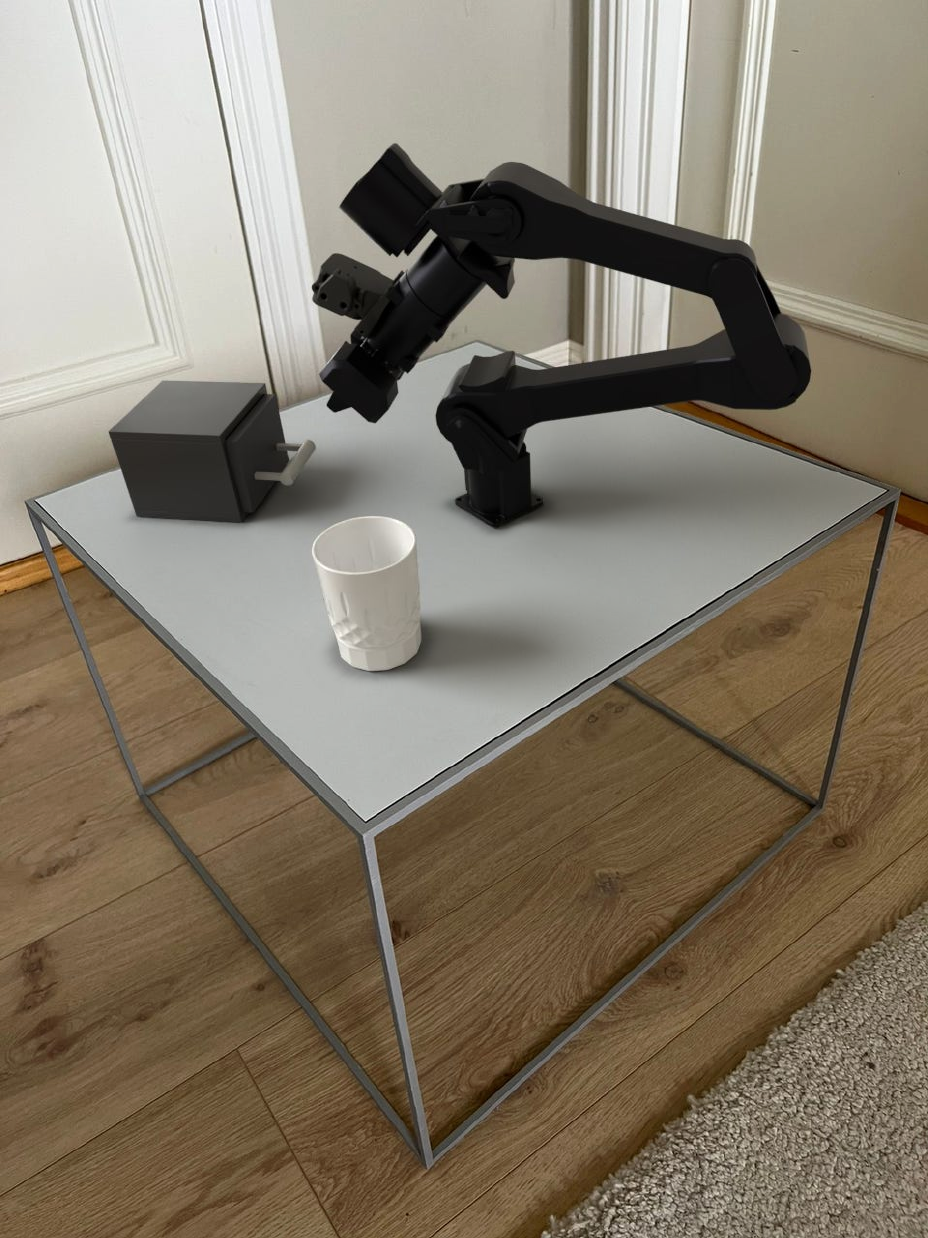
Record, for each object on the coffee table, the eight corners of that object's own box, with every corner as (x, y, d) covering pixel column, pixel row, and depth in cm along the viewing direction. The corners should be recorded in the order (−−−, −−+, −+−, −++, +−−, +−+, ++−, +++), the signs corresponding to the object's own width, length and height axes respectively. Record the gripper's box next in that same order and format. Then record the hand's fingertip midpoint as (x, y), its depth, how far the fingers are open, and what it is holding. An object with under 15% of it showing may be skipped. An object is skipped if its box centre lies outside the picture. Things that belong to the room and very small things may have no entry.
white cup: (415, 681, 74) (401, 577, 67) (319, 673, 75) (297, 570, 69) (437, 618, 80) (426, 518, 73) (348, 612, 81) (330, 513, 75)
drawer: (325, 462, 101) (313, 394, 96) (292, 514, 93) (277, 443, 88) (200, 457, 104) (182, 391, 99) (157, 507, 96) (135, 437, 91)
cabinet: (282, 465, 103) (265, 382, 97) (241, 522, 94) (219, 435, 88) (185, 461, 105) (162, 380, 99) (136, 516, 96) (108, 431, 90)
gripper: (390, 194, 86) (297, 312, 95) (325, 261, 72) (223, 392, 81) (479, 281, 89) (382, 387, 98) (434, 362, 75) (325, 477, 84)
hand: (331, 407), depth 90 cm, fingers closed
